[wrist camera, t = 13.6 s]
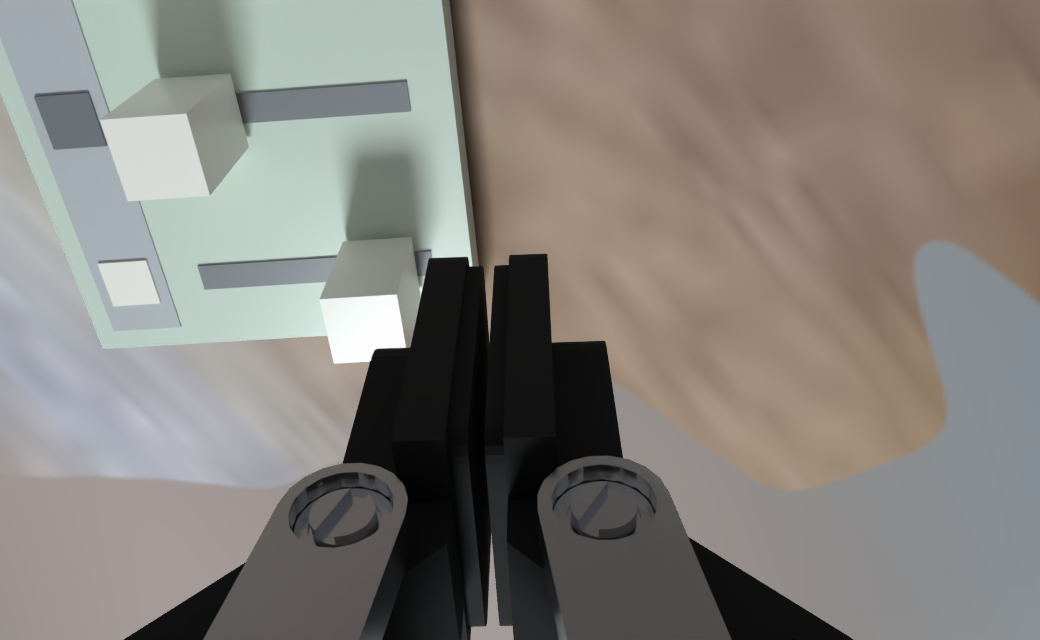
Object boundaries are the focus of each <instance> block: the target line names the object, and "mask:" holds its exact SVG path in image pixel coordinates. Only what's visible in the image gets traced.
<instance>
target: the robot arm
mask: <svg viewBox="0 0 1040 640" xmlns="http://www.w3.org/2000/svg"><path fill="white" fill-rule="evenodd" d="M491 532H492V544H493V554H494V567H495V578H496V589H497V601H498V612H499V623H500V626H510V625H511V626H513V634H514V640H853V639H851V638H850V637H849V636H847V635H846V634H844V633H842V632H841V631H839V630H838V629H835V628H834V627H833V626H831V625H829V624H828V623H826V622H825V621H823V620H821V619H820V618H818V617H817V616H815V615H813V614H812V613H810V612H808V611H807V610H805V609H803V608H802V607H800V606H799V605H797V604H795V603H794V602H792V601H791V600H789V599H788V598H786V597H784V596H782V595H781V594H779V593H778V592H776V591H775V590H773V589H771V588H770V587H768V586H767V585H765V584H763V583H762V582H760V581H758V580H757V579H755V578H754V577H752V576H750V575H749V574H747V573H745V572H744V571H742V570H741V569H739V568H738V567H736V566H734V565H733V564H731V563H729V562H728V561H726V560H725V559H723V558H721V557H720V556H718V555H717V554H715V553H713V552H712V551H710V550H708V549H707V548H705V547H704V546H702V545H700V544H699V543H697V542H696V541H694V540H692V539H691V538H689V537H688V536H687V533H686V531H685V529H684V526H683V524H682V521H681V519H680V517H679V515H678V512H677V510H676V507H675V505H674V502H673V500H672V498H671V495H670V493H669V491H668V489H667V488H666V487H665V485H664V483H663V482H662V480H661V479H660V478H659V477H658V476H657V475H655V474H654V473H653V472H652V471H650V470H649V469H648V468H647V467H645V466H643V465H640V464H638V463H636V462H634V461H631V460H629V459H624V458H623V455H622V449H621V442H620V436H619V429H618V422H617V415H616V408H615V402H614V395H613V388H612V381H611V374H610V368H609V361H608V354H607V348H606V343H605V341H587V342H558V343H552V340H551V320H550V300H549V280H548V259H547V254H528V255H509V265H500V266H495V267H494V282H493V298H492V314H491V330H490V345H489V332H488V319H487V306H486V292H485V279H484V269H483V266H472V267H470V266H469V259H468V257H446V258H429V260H428V264H427V269H426V274H425V279H424V284H423V289H422V293H421V298H420V303H419V308H418V313H417V318H416V323H415V327H414V332H413V337H412V342H411V347H409V348H379V349H376V350H374V352H373V355H372V357H371V361H370V365H369V368H368V372H367V376H366V379H365V383H364V387H363V390H362V394H361V398H360V402H359V405H358V409H357V413H356V416H355V420H354V424H353V427H352V431H351V435H350V438H349V442H348V446H347V449H346V453H345V457H344V461H343V464H339V465H335V466H331V467H327V468H323V469H321V470H319V471H316V472H314V473H312V474H310V475H308V476H306V477H304V478H303V479H301V480H300V481H299V482H298V483H296V484H295V485H294V486H292V487H291V488H290V489H289V490H288V491H287V493H286V494H285V495H284V496H283V498H282V499H281V500H280V502H279V503H278V505H277V507H276V508H275V510H274V512H273V514H272V516H271V518H270V519H269V521H268V523H267V525H266V527H265V529H264V530H263V532H262V534H261V536H260V537H259V539H258V541H257V543H256V545H255V547H254V549H253V550H252V552H251V554H250V556H249V558H248V559H247V561H246V563H244V564H242V565H241V566H240V567H238V568H236V569H235V570H233V571H231V572H230V573H228V574H227V575H225V576H224V577H222V578H220V579H219V580H217V581H216V582H214V583H213V584H211V585H209V586H208V587H206V588H205V589H203V590H202V591H200V592H198V593H197V594H195V595H194V596H192V597H190V598H189V599H187V600H186V601H184V602H182V603H181V604H179V605H178V606H176V607H175V608H173V609H171V610H170V611H168V612H167V613H165V614H163V615H162V616H161V617H159V618H157V619H156V620H154V621H153V622H151V623H149V624H148V625H146V626H145V627H143V628H141V629H140V630H138V631H137V632H135V633H133V634H132V635H131V636H129V637H127V638H126V639H124V640H470V634H471V627H473V626H486V624H487V611H488V590H489V568H490V546H491Z"/></svg>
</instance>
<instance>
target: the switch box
mask: <svg viewBox="0 0 1040 640" xmlns="http://www.w3.org/2000/svg"><path fill="white" fill-rule="evenodd" d="M229 73H230V74H231V78H232V82H233V86H234V90H235V94H236V98H237V102H238V106H239V110H240V114H241V118H242V122H243V126H244V130H245V134H246V138H247V142H248V145H249V148H248V149H247V150H246V151H245V153H244V154H243V155H242V156H241V158H240V159H239V160H238V161H237V163H236V164H235V165H234V166H233V168H232V169H231V170H230V171H229V173H228V174H227V175H226V176H225V178H224V179H223V180H222V181H221V183H220V184H219V185H218V186H217V188H216V189H215V190H214V191H213V193H212V194H211V195H210V196H200V197H186V198H171V199H156V200H141V201H127V198H126V195H125V192H124V189H123V186H122V183H121V180H120V177H119V175H118V172H117V169H116V166H115V163H114V160H113V157H112V154H111V151H110V148H109V146H108V143H107V140H106V137H105V134H104V131H103V128H102V125H101V122H100V119H102V118H103V117H104V116H106V115H107V114H108V113H110V112H111V111H112V110H114V109H115V108H116V107H118V106H119V105H120V104H122V103H123V102H124V101H126V100H127V99H128V98H130V97H131V96H132V95H134V94H135V93H137V92H138V91H139V90H141V89H142V88H143V87H145V86H146V85H147V84H149V83H150V82H151V81H153V80H154V79H161V78H174V77H188V76H202V75H215V74H229ZM0 93H1V96H2V98H3V101H4V103H5V105H6V108H7V110H8V113H9V115H10V118H11V120H12V123H13V125H14V128H15V130H16V133H17V135H18V138H19V140H20V143H21V145H22V148H23V150H24V153H25V155H26V158H27V160H28V163H29V165H30V168H31V170H32V173H33V175H34V178H35V180H36V183H37V185H38V188H39V190H40V193H41V195H42V198H43V200H44V203H45V205H46V208H47V210H48V213H49V215H50V218H51V220H52V223H53V225H54V228H55V230H56V233H57V235H58V238H59V240H60V243H61V245H62V248H63V250H64V253H65V255H66V258H67V260H68V263H69V265H70V268H71V270H72V273H73V275H74V278H75V280H76V283H77V285H78V288H79V290H80V293H81V295H82V298H83V300H84V303H85V305H86V308H87V310H88V313H89V315H90V318H91V320H92V323H93V325H94V328H95V330H96V333H97V335H98V338H99V340H100V343H101V345H102V348H103V349H113V348H129V347H146V346H162V345H179V344H195V343H212V342H228V341H245V340H261V339H278V338H294V337H311V336H327V331H326V326H325V322H324V318H323V313H322V309H321V305H320V300H319V299H320V296H321V294H322V291H323V289H324V287H325V284H326V282H327V279H328V277H329V274H330V272H331V270H332V267H333V265H334V262H335V260H336V257H337V255H338V253H339V250H340V248H341V245H342V243H343V241H358V240H373V239H388V238H404V237H412V243H413V250H414V256H415V263H416V269H417V276H418V282H419V288H420V295H421V293H422V289H423V284H424V279H425V274H426V269H427V264H428V260H429V258H446V257H468V259H469V266H470V267H472V266H479V262H478V253H477V244H476V235H475V226H474V217H473V208H472V199H471V190H470V181H469V172H468V163H467V154H466V145H465V136H464V127H463V118H462V109H461V100H460V91H459V82H458V73H457V64H456V55H455V46H454V37H453V28H452V19H451V10H450V1H449V0H0Z"/></svg>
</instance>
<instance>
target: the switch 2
mask: <svg viewBox="0 0 1040 640" xmlns="http://www.w3.org/2000/svg"><path fill="white" fill-rule="evenodd" d="M420 298H421V295H420V288H419V282H418V276H417V269H416V263H415V256H414V250H413V243H412V237H404V238H388V239H373V240H358V241H343V243H342V245H341V248H340V250H339V253H338V255H337V257H336V260H335V262H334V265H333V267H332V270H331V272H330V274H329V277H328V279H327V282H326V284H325V287H324V289H323V291H322V294H321V296H320V299H319V300H320V305H321V309H322V313H323V318H324V322H325V326H326V331H327V335H328V339H329V344H330V348H331V353H332V357H333V361H334V364H335V363H352V362H369V361H371V357H372V355H373V352H374V350H376V349H379V348H409V347H411V342H412V337H413V332H414V327H415V323H416V318H417V313H418V308H419V303H420Z"/></svg>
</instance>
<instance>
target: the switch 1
mask: <svg viewBox="0 0 1040 640" xmlns="http://www.w3.org/2000/svg"><path fill="white" fill-rule="evenodd" d="M100 122H101V125H102V128H103V131H104V134H105V137H106V140H107V143H108V146H109V148H110V151H111V154H112V157H113V160H114V163H115V166H116V169H117V172H118V175H119V177H120V180H121V183H122V186H123V189H124V192H125V195H126V198H127V201H141V200H156V199H171V198H186V197H200V196H210V195H211V194H212V193H213V191H214V190H215V189H216V188H217V186H218V185H219V184H220V183H221V181H222V180H223V179H224V178H225V176H226V175H227V174H228V173H229V171H230V170H231V169H232V168H233V166H234V165H235V164H236V163H237V161H238V160H239V159H240V158H241V156H242V155H243V154H244V153H245V151H246V150H247V149H248V148H249V145H248V142H247V138H246V134H245V130H244V126H243V122H242V118H241V114H240V110H239V106H238V102H237V98H236V94H235V90H234V86H233V82H232V78H231V74H230V73H229V74H215V75H202V76H188V77H174V78H161V79H154V80H153V81H151V82H150V83H149V84H147V85H146V86H145V87H143V88H142V89H141V90H139V91H138V92H137V93H135V94H134V95H132V96H131V97H130V98H128V99H127V100H126V101H124V102H123V103H122V104H120V105H119V106H118V107H116V108H115V109H114V110H112V111H111V112H110V113H108V114H107V115H106V116H104V117H103V118H102V119H100Z"/></svg>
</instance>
